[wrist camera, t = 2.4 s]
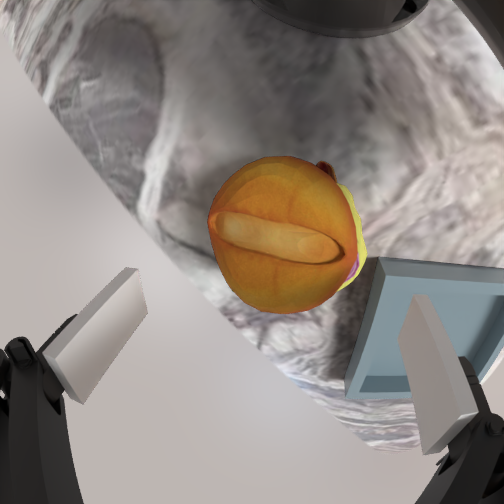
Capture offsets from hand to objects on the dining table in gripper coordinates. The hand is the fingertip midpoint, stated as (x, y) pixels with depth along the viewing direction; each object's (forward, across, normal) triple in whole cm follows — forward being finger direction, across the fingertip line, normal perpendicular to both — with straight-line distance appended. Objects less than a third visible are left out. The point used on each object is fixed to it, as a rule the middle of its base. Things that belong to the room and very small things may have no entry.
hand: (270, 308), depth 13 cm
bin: (+11, +16, -10) cm, 22 cm away
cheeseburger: (+11, 0, 0) cm, 11 cm away
